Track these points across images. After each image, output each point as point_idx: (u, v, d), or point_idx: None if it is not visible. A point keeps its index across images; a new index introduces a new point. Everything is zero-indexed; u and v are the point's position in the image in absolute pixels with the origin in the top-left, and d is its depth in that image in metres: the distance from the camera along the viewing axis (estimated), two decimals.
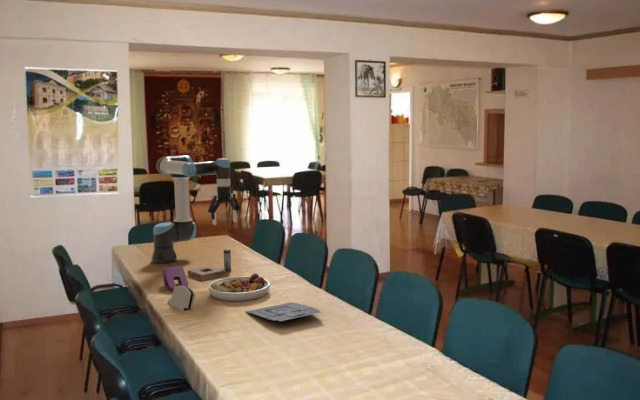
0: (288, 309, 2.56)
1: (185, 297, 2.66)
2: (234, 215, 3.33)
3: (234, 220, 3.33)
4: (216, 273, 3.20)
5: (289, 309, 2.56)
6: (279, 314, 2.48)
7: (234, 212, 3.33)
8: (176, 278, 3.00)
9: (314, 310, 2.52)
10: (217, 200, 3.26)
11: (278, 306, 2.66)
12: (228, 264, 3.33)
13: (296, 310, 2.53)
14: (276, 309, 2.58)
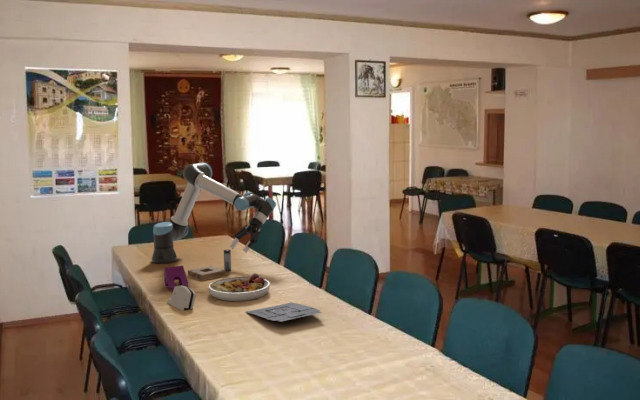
0: (288, 309, 2.56)
1: (185, 297, 2.66)
2: (235, 243, 3.43)
3: (232, 246, 3.42)
4: (216, 273, 3.20)
5: (289, 309, 2.56)
6: (279, 314, 2.48)
7: (237, 240, 3.44)
8: (176, 278, 3.00)
9: (314, 310, 2.51)
10: (252, 230, 3.39)
11: (278, 306, 2.65)
12: (228, 264, 3.33)
13: (296, 310, 2.53)
14: (276, 309, 2.58)
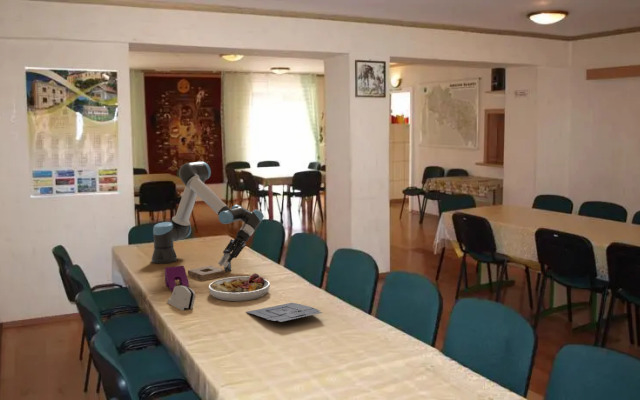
0: (289, 309, 2.56)
1: (185, 297, 2.66)
2: None
3: (220, 263, 3.34)
4: (216, 273, 3.20)
5: (290, 309, 2.55)
6: (279, 314, 2.47)
7: None
8: (177, 278, 3.00)
9: (315, 311, 2.51)
10: (237, 244, 3.35)
11: (279, 306, 2.65)
12: (228, 264, 3.33)
13: (297, 310, 2.53)
14: (277, 309, 2.58)
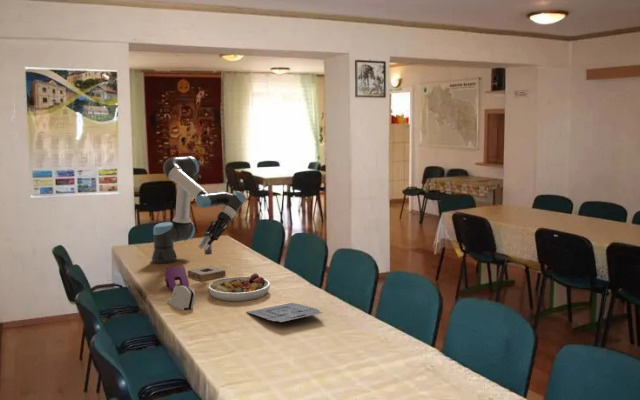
0: (289, 310, 2.56)
1: (185, 297, 2.67)
2: None
3: (201, 246, 3.22)
4: (216, 273, 3.20)
5: (290, 310, 2.55)
6: (280, 315, 2.47)
7: None
8: (177, 278, 3.00)
9: (315, 311, 2.51)
10: (217, 226, 3.24)
11: (279, 307, 2.65)
12: (208, 247, 3.21)
13: (297, 311, 2.52)
14: (277, 310, 2.58)
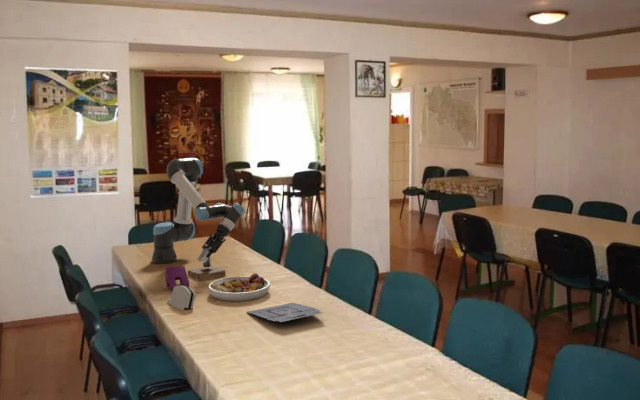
0: (289, 310, 2.55)
1: (185, 297, 2.67)
2: None
3: (199, 259, 3.22)
4: (216, 273, 3.20)
5: (290, 310, 2.55)
6: (280, 315, 2.47)
7: None
8: (178, 278, 3.00)
9: (315, 311, 2.51)
10: (216, 239, 3.23)
11: (279, 307, 2.65)
12: (207, 259, 3.21)
13: (297, 311, 2.52)
14: (277, 310, 2.57)
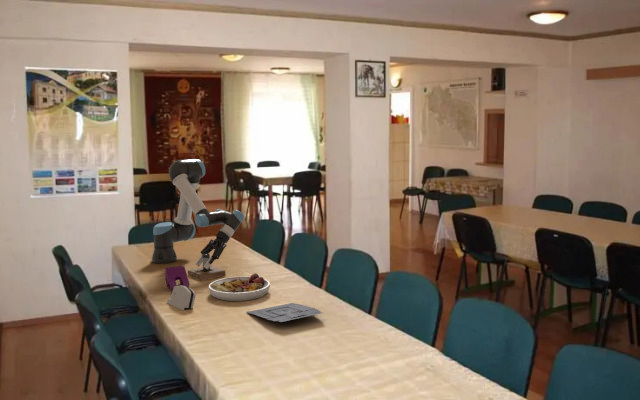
0: (289, 310, 2.55)
1: (185, 297, 2.67)
2: (201, 260, 3.26)
3: (198, 264, 3.25)
4: (216, 273, 3.20)
5: (290, 310, 2.55)
6: (280, 315, 2.47)
7: None
8: (178, 278, 3.00)
9: (315, 311, 2.51)
10: (217, 245, 3.24)
11: (279, 307, 2.65)
12: (207, 269, 3.22)
13: (297, 311, 2.52)
14: (277, 310, 2.57)
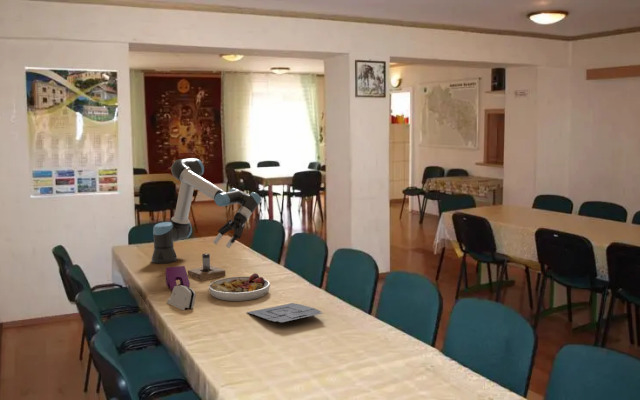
0: (289, 310, 2.55)
1: (185, 297, 2.67)
2: (218, 238, 3.35)
3: (215, 242, 3.34)
4: (216, 273, 3.20)
5: (290, 310, 2.55)
6: (280, 315, 2.47)
7: (220, 236, 3.36)
8: (178, 278, 2.99)
9: (315, 311, 2.50)
10: (235, 225, 3.30)
11: (280, 307, 2.64)
12: (207, 269, 3.22)
13: (297, 311, 2.52)
14: (277, 310, 2.57)
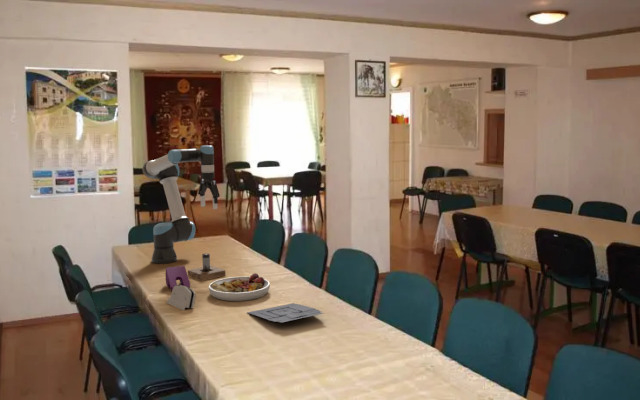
0: (290, 310, 2.55)
1: (185, 297, 2.67)
2: (203, 200, 3.48)
3: (203, 205, 3.48)
4: (216, 273, 3.20)
5: (291, 310, 2.54)
6: (280, 315, 2.46)
7: (203, 197, 3.48)
8: (178, 278, 2.99)
9: (316, 311, 2.50)
10: (209, 186, 3.38)
11: (280, 307, 2.64)
12: (207, 269, 3.22)
13: (298, 311, 2.52)
14: (278, 310, 2.57)
